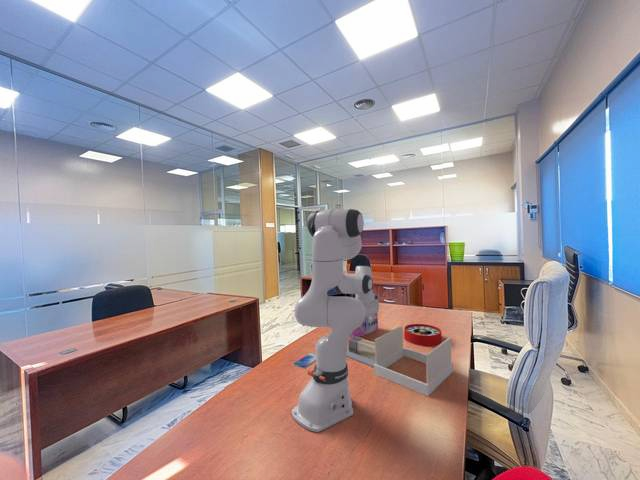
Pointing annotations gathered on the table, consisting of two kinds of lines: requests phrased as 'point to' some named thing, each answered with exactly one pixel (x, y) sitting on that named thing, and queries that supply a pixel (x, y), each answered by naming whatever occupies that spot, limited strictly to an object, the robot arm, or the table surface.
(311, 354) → the smartphone
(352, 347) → the block
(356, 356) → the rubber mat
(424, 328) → the toy clock
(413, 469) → the table surface
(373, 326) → the gum box
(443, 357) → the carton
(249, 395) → the table surface
